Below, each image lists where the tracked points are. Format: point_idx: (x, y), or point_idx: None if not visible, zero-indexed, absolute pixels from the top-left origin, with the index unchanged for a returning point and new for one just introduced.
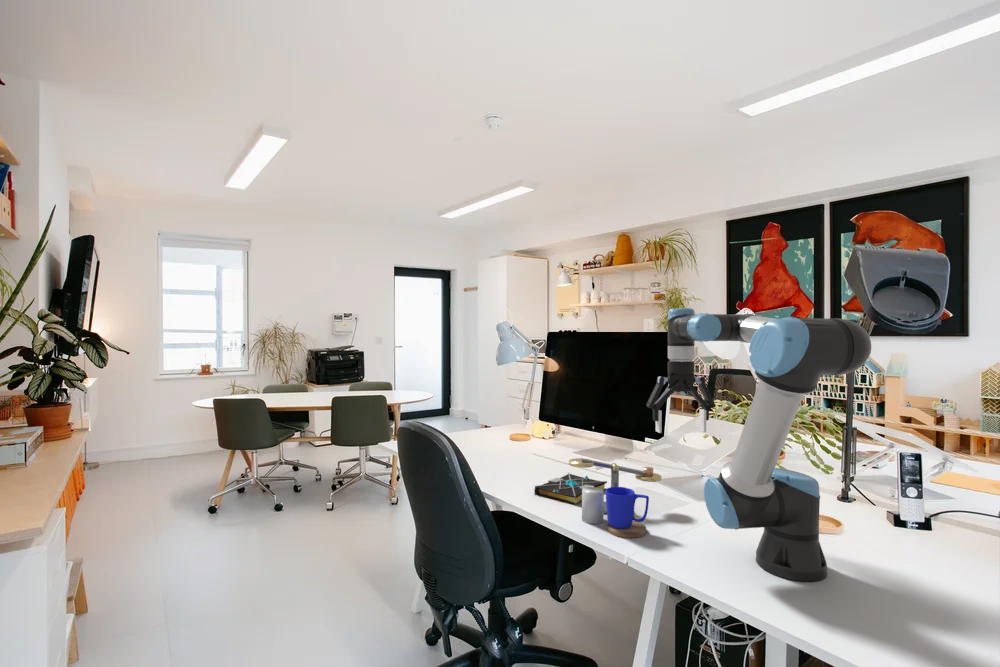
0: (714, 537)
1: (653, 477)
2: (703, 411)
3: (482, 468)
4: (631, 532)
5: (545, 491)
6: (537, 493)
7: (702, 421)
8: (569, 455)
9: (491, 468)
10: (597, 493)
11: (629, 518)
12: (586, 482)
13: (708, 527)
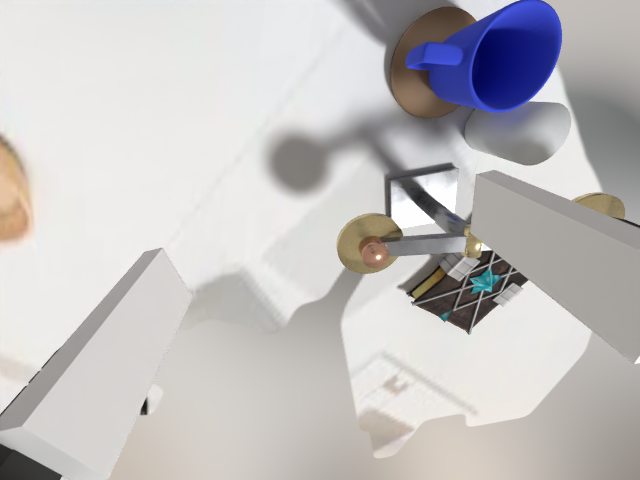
0: (233, 48)
1: (361, 233)
2: (44, 410)
3: (582, 346)
4: (440, 19)
5: None
6: None
7: (135, 317)
8: (422, 418)
9: (567, 348)
10: (540, 108)
11: (454, 35)
12: (454, 292)
13: (240, 118)
